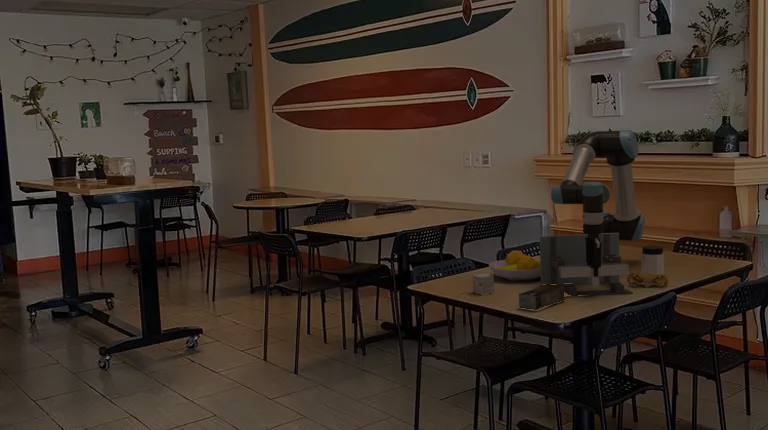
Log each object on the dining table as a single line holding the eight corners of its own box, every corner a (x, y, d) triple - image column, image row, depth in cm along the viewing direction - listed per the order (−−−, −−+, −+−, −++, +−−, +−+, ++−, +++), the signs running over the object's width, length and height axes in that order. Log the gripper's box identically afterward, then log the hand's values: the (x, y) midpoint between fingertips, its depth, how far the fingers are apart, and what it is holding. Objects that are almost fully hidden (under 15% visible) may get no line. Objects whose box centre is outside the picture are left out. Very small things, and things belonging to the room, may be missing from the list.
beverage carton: (517, 309, 277) (517, 291, 277) (547, 299, 291) (547, 282, 290) (536, 312, 272) (535, 294, 271) (565, 302, 285) (565, 284, 284)
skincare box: (472, 293, 306) (472, 274, 305) (485, 290, 308) (484, 272, 308) (481, 295, 300) (481, 277, 299) (494, 293, 303) (493, 275, 302)
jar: (654, 278, 317) (654, 249, 315) (637, 275, 324) (637, 247, 322) (667, 275, 322) (667, 246, 320) (651, 272, 329) (651, 244, 327)
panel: (540, 284, 314) (539, 236, 312) (618, 280, 315) (618, 232, 313) (548, 292, 301) (547, 241, 298) (629, 288, 301) (629, 237, 299)
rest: (555, 293, 298) (555, 284, 298) (626, 289, 299) (626, 280, 299) (559, 297, 292) (559, 288, 291) (633, 293, 292) (633, 284, 292)
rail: (558, 276, 296) (558, 265, 295) (625, 272, 296) (625, 262, 296) (560, 277, 292) (560, 267, 292) (628, 274, 293) (628, 264, 292)
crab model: (663, 282, 311) (664, 268, 310) (670, 288, 298) (670, 275, 298) (624, 282, 313) (624, 269, 313) (628, 289, 301) (628, 275, 300)
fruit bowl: (483, 283, 322) (482, 256, 321) (498, 270, 347) (497, 245, 346) (550, 285, 312) (550, 258, 311) (561, 272, 337) (560, 247, 335)
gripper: (577, 220, 300) (577, 279, 303) (589, 226, 284) (590, 288, 286) (596, 219, 300) (596, 278, 303) (609, 225, 284) (610, 287, 287)
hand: (593, 283), depth 295 cm, fingers closed on rail, 3 cm apart
